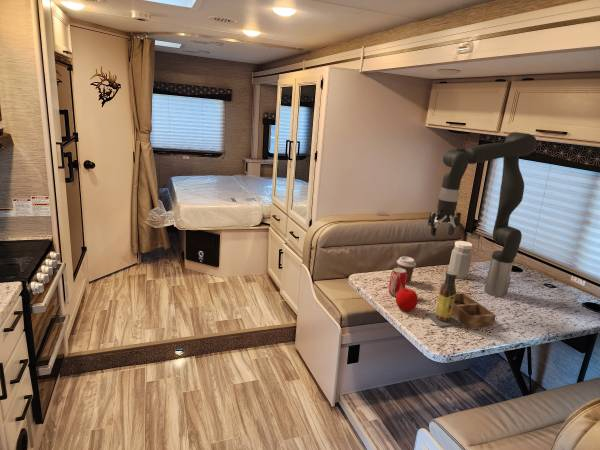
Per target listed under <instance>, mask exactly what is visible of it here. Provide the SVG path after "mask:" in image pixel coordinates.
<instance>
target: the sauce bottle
mask: <svg viewBox="0 0 600 450" xmlns="http://www.w3.org/2000/svg"><path fill="white" fill-rule="evenodd" d="M456 277H457V274H456V273H455V272H452V271H448V270H447V271H446V272H445V279H444V283H442V284H441V286H440V289H439V292H438V297H437V302H436V306H435V307H436V309H435V317H436V318H437V319H439V320H441V321H449V320H450V319H451V316H452V311H453V306H454V301H455V296H456V293H457V290H456V289H457V288H456V279H457V278H456Z"/></svg>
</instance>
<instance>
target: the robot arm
mask: <svg viewBox="0 0 600 450" xmlns="http://www.w3.org/2000/svg"><path fill="white" fill-rule="evenodd" d="M537 141H538V140H537V139H536V136H534V135H532V134H530V133H525V132H518V131H517V132H515V131H513V132H510V133H509V134H508V135H506V138H505V139H504V142H497V143H496V142H494V143H484V144H483V143H482V144H479V145H475V146H470V147H465V148H454V149H450V150H448V151H447V152H445V153H444V155H443V156H442V162H443V164H444V165H445V166H446V167H448V168H451V169H450V171H449V173H445V174H444V175H443V178H442V183H441V186H440V187H441V188H440V191H439V194H438V195H439V196H438V201H437V202H438V203H437V206H436V207H437V211H436V212H435V211H432V210H431V211H430V212H429V217H428V221H427V225H428V226H429V227H431V228H430V235H431V236H433V237H436V234H437V230H438V229H437V227H439V225H441V224H443V223H448V224H449V226H448V229H447V230H448V232H447V235H448V236H450V237H451V236H453V235H454V232H455V231H454V230H455V228H456V227H459V226H460V224H461V215H462V213H461V212H460V211H456V210H457V206H458V202H459V195H460V187H461V182H462V179H463V178H464V175H465V173H466V170H467V168H468V165H474V164H479V163H484V162H488V161H491V160H497V159H502V158H503V162H502V163H503V165H502V166H503V167H502V175H501V183H500V189H499V190H500V191H499V197H498V198H499V199H498V200H499V201H498V207H497V213H496V218H495V222H494V226H493V230H492V240H493V241H494V242H495V243H496V244H498V245H501V246H503V248H502V250H495V251H493V252H492V254H491V259H490V261H489V262H490V263H489V266H488V267H489V268H488V271H487V275H486V276H487V277H486V281H485V283H484V289H483V290H484V293H486V294H488V295H489V296H493V297H495V298H496V297H498V298H505V296H507V295H508V291H509V288H510V284H511V279H512V276H511V272H512V269H513V264H514V260H515V258H516V257H517V254H518V252H519V248H520V245H521V241H522V237H523V235H522V231H521V230H520V229H518V228H515V227H513V226H509V223H510V218H511V215H512V213H513V212H514V211H515V210H516V209H517V208H518V207H519V205H521V203H522V200H523V197H524V193H525V191H524V190H525V182H524V178H523V175H522V172H521V169H520V165H519V163H520V162H519V161H520V160H519V159H520V156H522V157H523V156H524V157H525V156H528V155H530V154H532V153H533V152H534V151H535V150H536V148H537V146H538V144H537Z"/></svg>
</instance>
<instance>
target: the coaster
mask: <svg viewBox="0 0 600 450" xmlns="http://www.w3.org/2000/svg"><path fill="white" fill-rule="evenodd" d="M435 312H436V311H435ZM435 312H425V314H424V315H425V316H426V317H428V319H430V320H431V321H432V322H433V323H434V324H436V326H437V327H439V328H446V327H447V328H448V327H456V326H461V325H462V323H460V322H459V321H458V320H457V319H455V318H454V317H453V316H451V319H450V320H449V321H441V320H439V319H437V318H436V317H435Z"/></svg>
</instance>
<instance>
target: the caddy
mask: <svg viewBox="0 0 600 450" xmlns="http://www.w3.org/2000/svg"><path fill="white" fill-rule="evenodd" d="M452 316H453V317H454V318H455V319H456V320H458V321H459V322H460V323H461V325H463V326H464V327H465V328H466V329H480V328H488V327H494V325H495V320H496V316H497V315H496V314H495V313H494V312H492V311H491V310H489V309H487V308H486V307H485V306H483V305H482V304H481V303H479V302H477V300H475V299H473V298H472V297H470V296H469V295H467V294H466V293H464V292H456V296H455V301H454V306H453V311H452Z"/></svg>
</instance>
